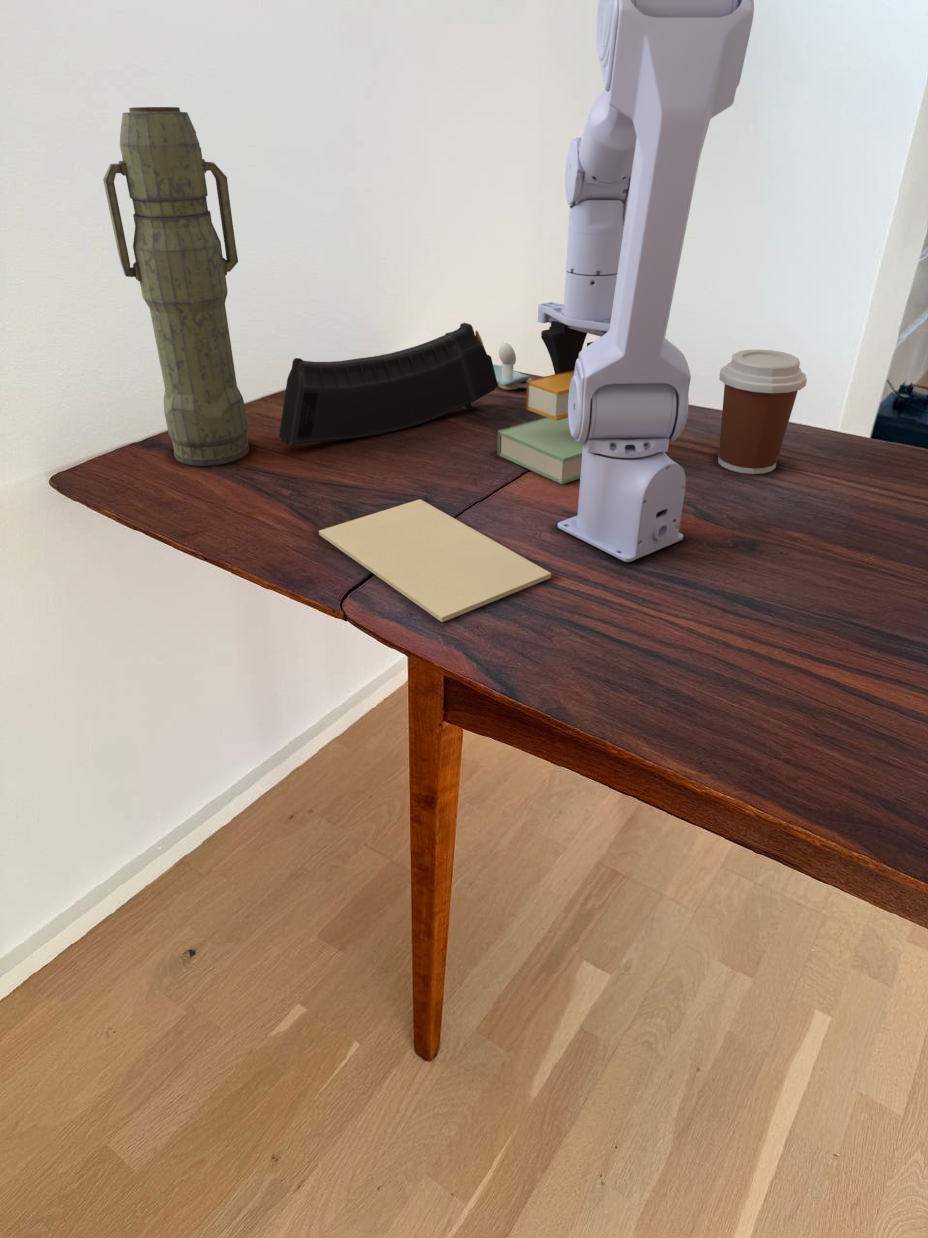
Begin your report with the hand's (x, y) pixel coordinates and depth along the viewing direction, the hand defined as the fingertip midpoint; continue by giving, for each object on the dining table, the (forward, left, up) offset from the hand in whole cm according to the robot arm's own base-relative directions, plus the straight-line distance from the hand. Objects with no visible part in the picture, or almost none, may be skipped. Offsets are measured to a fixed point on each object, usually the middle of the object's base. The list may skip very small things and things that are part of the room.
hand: (583, 398), depth 97 cm
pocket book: (0, 0, -1) cm, 1 cm away
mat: (-10, +29, -7) cm, 31 cm away
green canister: (+27, +34, -7) cm, 44 cm away
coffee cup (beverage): (-14, -13, -7) cm, 20 cm away
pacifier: (+25, -11, -7) cm, 28 cm away
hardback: (0, 0, -7) cm, 7 cm away
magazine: (+21, +12, -7) cm, 25 cm away
